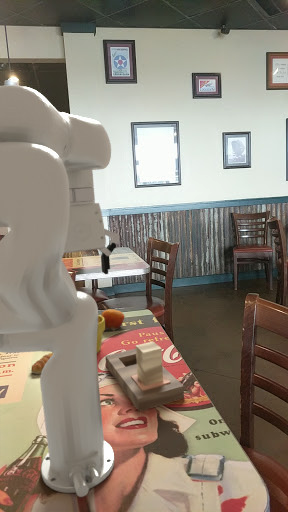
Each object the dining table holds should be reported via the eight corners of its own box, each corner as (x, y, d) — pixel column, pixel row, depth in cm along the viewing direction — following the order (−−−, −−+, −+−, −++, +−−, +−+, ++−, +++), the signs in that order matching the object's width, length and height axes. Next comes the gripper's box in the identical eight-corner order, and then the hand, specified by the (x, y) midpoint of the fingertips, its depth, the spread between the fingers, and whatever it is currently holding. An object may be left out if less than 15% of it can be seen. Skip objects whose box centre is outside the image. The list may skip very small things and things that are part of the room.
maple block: (163, 380, 87) (161, 348, 86) (145, 385, 85) (143, 352, 84) (154, 372, 91) (153, 341, 90) (137, 377, 89) (135, 345, 88)
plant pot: (101, 359, 108) (98, 326, 106) (67, 358, 109) (63, 326, 108) (110, 344, 118) (108, 314, 116) (78, 343, 119) (76, 314, 118)
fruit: (95, 330, 126) (98, 306, 129) (103, 333, 133) (106, 311, 136) (117, 331, 124) (120, 307, 126) (125, 335, 131) (128, 312, 134)
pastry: (40, 379, 99) (38, 365, 98) (26, 372, 103) (24, 358, 103) (69, 365, 105) (68, 352, 105) (55, 359, 110) (54, 347, 109)
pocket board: (184, 398, 85) (183, 384, 85) (139, 411, 81) (138, 397, 81) (143, 357, 107) (142, 346, 107) (106, 366, 103) (105, 354, 103)
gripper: (36, 200, 74) (45, 285, 77) (120, 194, 80) (126, 274, 83) (33, 200, 81) (42, 277, 84) (111, 195, 87) (117, 268, 90)
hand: (83, 275), depth 83 cm, fingers open, 9 cm apart
